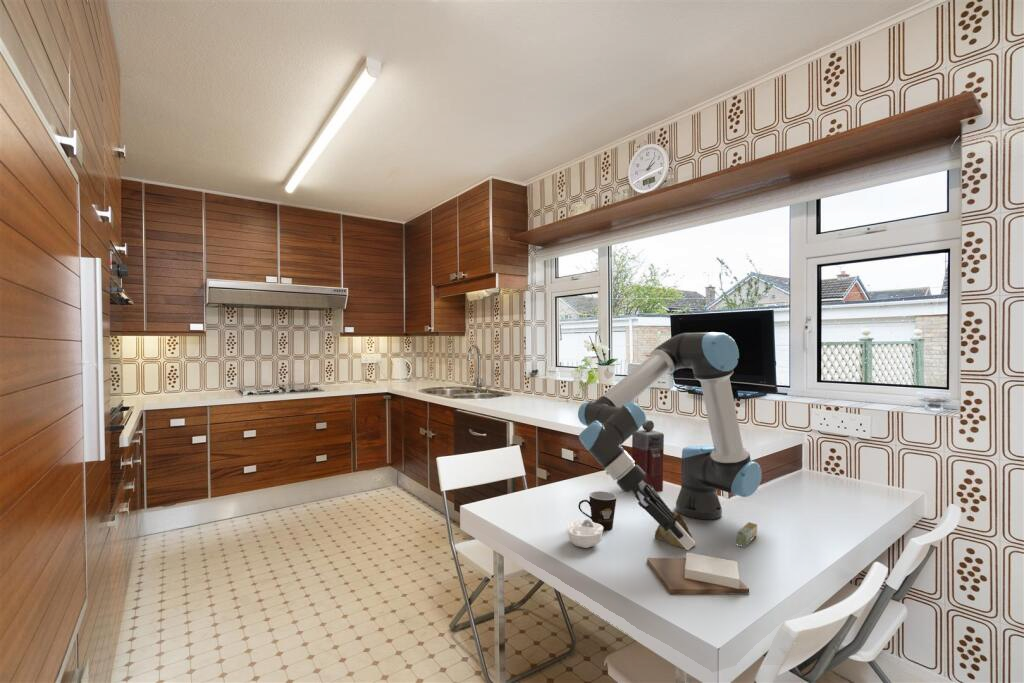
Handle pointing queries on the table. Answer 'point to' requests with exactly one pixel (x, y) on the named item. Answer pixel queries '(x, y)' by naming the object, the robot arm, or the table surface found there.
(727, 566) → the tile
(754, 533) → the medication box
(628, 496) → the table surface
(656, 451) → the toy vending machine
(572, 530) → the cell model
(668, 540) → the rock
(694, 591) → the board
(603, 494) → the coffee mug
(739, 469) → the robot arm
